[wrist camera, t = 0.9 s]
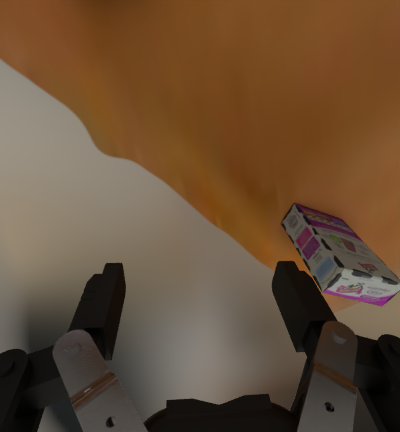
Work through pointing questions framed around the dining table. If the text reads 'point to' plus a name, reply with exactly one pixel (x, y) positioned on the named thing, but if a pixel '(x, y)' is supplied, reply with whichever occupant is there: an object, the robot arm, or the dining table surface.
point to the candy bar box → (339, 257)
